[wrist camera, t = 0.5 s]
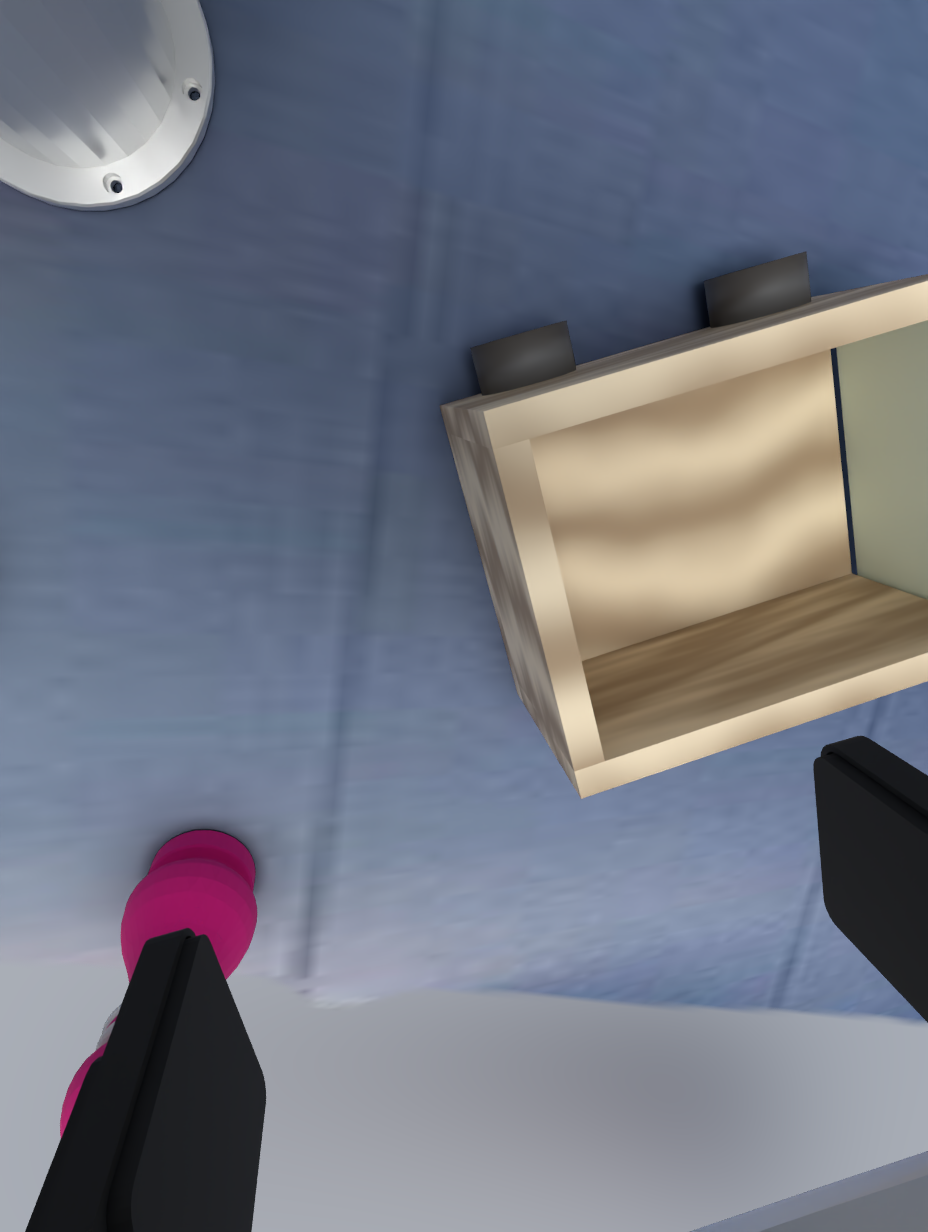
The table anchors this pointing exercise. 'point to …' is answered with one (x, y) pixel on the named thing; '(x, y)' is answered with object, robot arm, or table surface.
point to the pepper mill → (186, 912)
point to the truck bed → (683, 528)
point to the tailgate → (888, 454)
